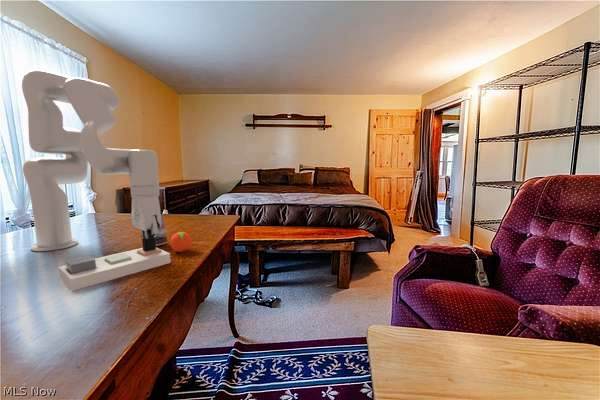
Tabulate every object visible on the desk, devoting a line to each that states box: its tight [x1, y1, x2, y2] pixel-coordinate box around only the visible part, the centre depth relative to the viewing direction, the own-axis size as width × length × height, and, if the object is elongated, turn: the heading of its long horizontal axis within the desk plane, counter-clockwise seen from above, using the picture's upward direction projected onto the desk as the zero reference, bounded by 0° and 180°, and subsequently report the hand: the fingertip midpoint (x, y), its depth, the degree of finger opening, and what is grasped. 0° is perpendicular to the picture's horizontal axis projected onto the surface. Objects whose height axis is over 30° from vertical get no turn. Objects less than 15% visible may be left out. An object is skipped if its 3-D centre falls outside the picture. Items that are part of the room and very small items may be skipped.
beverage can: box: [155, 214, 168, 247], centre depth 100 cm, size 6×7×12 cm
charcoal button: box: [65, 255, 96, 275], centre depth 71 cm, size 5×5×3 cm
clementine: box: [170, 231, 193, 253], centre depth 94 cm, size 8×7×7 cm
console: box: [57, 247, 171, 292], centre depth 78 cm, size 12×24×3 cm, turn 142°
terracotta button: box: [137, 246, 162, 256], centre depth 85 cm, size 5×5×3 cm
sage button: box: [105, 252, 131, 265], centre depth 78 cm, size 5×5×3 cm
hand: (149, 249), depth 84 cm, fingers closed
